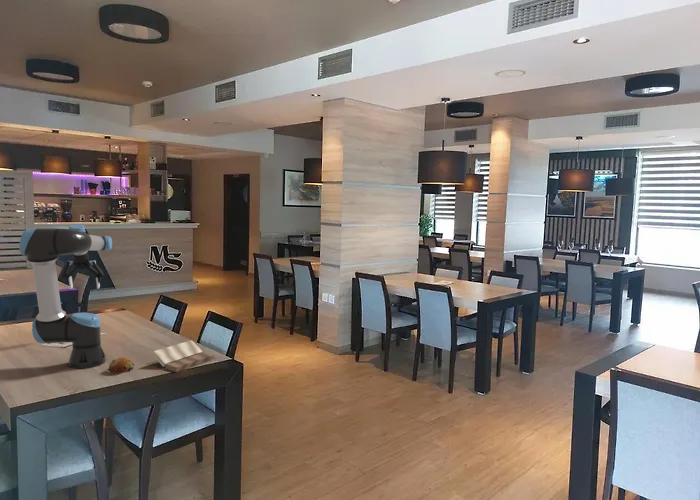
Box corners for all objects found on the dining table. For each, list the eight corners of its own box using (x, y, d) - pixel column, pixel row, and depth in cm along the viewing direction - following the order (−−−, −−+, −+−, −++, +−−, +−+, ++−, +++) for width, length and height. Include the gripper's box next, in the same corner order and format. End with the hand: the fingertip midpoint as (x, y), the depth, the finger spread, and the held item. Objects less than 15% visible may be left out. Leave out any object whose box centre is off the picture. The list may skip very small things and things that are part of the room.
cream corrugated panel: (163, 367, 220) (164, 363, 219) (152, 354, 223) (153, 351, 223) (201, 354, 238) (202, 351, 238) (190, 343, 242) (191, 340, 241)
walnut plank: (176, 372, 215) (176, 367, 215) (165, 368, 219) (165, 364, 219) (214, 359, 234) (214, 354, 234) (203, 356, 238) (203, 352, 238)
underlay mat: (176, 374, 214) (176, 373, 214) (144, 365, 225) (144, 364, 225) (217, 359, 234) (217, 358, 234) (186, 352, 246) (186, 351, 246)
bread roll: (129, 373, 224) (125, 357, 225) (139, 369, 218) (135, 351, 219) (107, 379, 216) (103, 362, 218) (117, 374, 210) (113, 357, 211)
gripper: (107, 249, 265) (111, 284, 274) (56, 249, 260) (62, 284, 268) (103, 255, 259) (108, 290, 267) (51, 255, 253) (57, 291, 262)
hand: (85, 287), depth 268 cm, fingers open, 13 cm apart
